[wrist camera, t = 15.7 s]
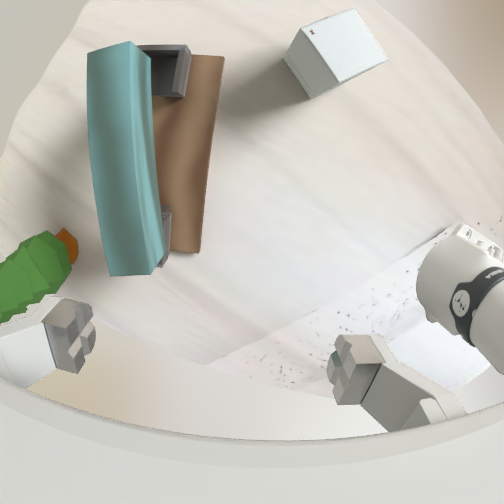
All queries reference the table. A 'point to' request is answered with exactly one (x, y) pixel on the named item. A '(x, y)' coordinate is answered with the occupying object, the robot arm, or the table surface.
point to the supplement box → (333, 52)
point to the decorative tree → (35, 271)
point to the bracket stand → (182, 138)
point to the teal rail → (124, 158)
